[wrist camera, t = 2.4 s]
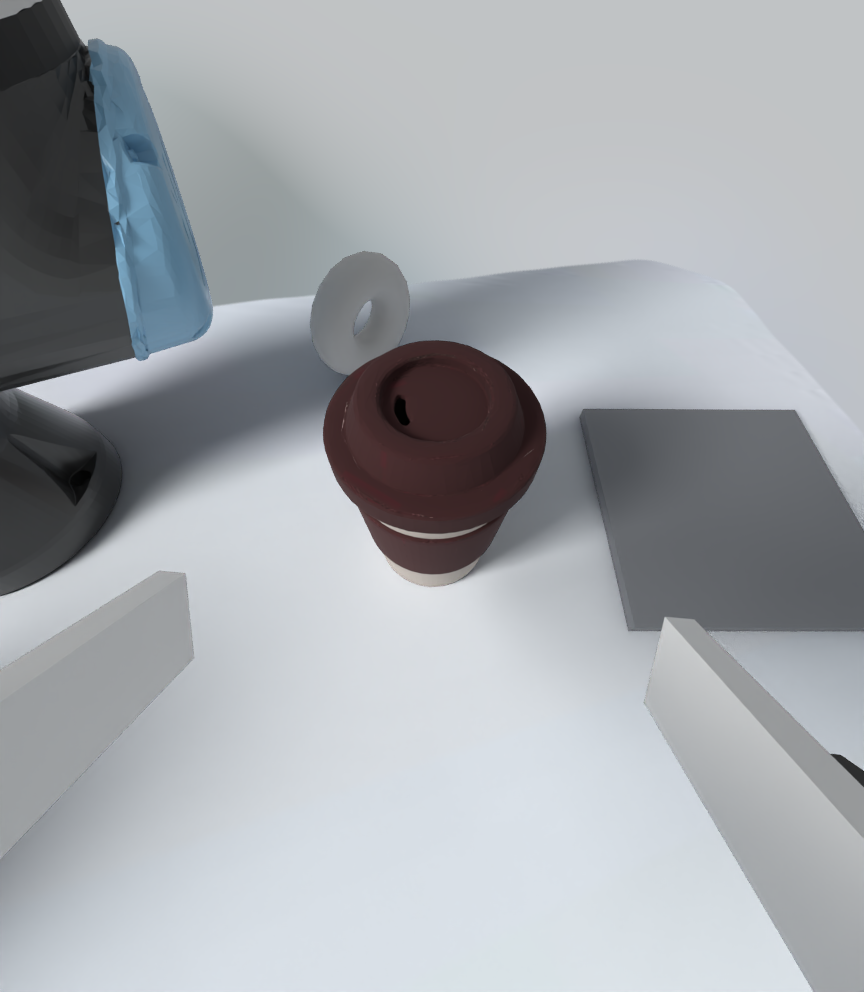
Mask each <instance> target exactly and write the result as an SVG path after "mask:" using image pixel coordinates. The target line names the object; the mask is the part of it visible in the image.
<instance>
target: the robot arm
mask: <svg viewBox="0 0 864 992" xmlns="http://www.w3.org/2000/svg"><path fill="white" fill-rule="evenodd" d="M212 316H213V307H212V301H211V296H210V292H209V288H208V284H207V280H206V276H205V273H204V269H203V266H202V262H201V259H200V255H199V252H198V248H197V245H196V242H195V238H194V235H193V232H192V229H191V225H190V222H189V219H188V216H187V213H186V210H185V207H184V203H183V200H182V197H181V194H180V191H179V188H178V185H177V181H176V178H175V175H174V172H173V169H172V166H171V163H170V160H169V157H168V154H167V151H166V148H165V145H164V142H163V140H162V137H161V134H160V131H159V128H158V125H157V122H156V120H155V117H154V114H153V112H152V109H151V106H150V104H149V102H148V100H147V97H146V95H145V92H144V90H143V87H142V84H141V81H140V76H139V74H138V72H137V69H136V68H135V66H134V63H133V62H132V60H131V58H130V57H129V56H128V54H127V53H126V52H125V51H124V50H122V49H120V48H119V47H116V46H112V45H106V44H105V43H104V42H103V41H102V40H100V39H92V40H89V41H88V46H85V45H84V43H83V42H82V41H81V39H80V38H79V37H78V35H77V33H76V31H75V29H74V27H73V25H72V23H71V21H70V19H69V17H68V15H67V13H66V11H65V9H64V7H63V5H62V3H61V1H60V0H0V595H3V594H6V593H9V592H12V591H15V590H17V589H20V588H22V587H24V586H26V585H29V584H30V583H32V582H34V581H36V580H38V579H40V578H42V577H44V576H45V575H47V574H49V573H50V572H52V571H53V570H55V569H56V568H58V567H59V566H61V565H62V564H63V563H65V562H66V561H67V560H69V559H70V558H71V557H72V556H73V555H75V554H76V553H77V552H78V551H79V550H80V549H81V548H82V547H83V546H84V545H85V544H86V543H87V542H88V541H89V540H90V539H91V538H92V537H93V536H94V535H95V533H96V532H97V531H98V530H99V528H100V527H101V526H102V524H103V523H104V522H105V520H106V519H107V517H108V515H109V514H110V512H111V510H112V508H113V506H114V504H115V501H116V499H117V496H118V493H119V490H120V486H121V478H122V468H121V462H120V458H119V456H118V453H117V451H116V449H115V448H114V446H113V445H112V444H111V443H110V442H109V441H108V440H107V439H106V438H105V437H104V436H103V435H102V434H101V433H100V432H98V431H97V430H96V429H95V428H94V427H93V426H92V425H91V424H89V423H88V422H87V421H85V420H84V419H82V418H81V417H79V416H77V415H75V414H73V413H71V412H69V411H66V410H64V409H62V408H60V407H57V406H55V405H53V404H50V403H48V402H46V401H44V400H41V399H39V398H37V397H35V396H32V395H30V394H28V393H26V392H23V391H21V390H19V389H17V387H21V386H25V385H29V384H33V383H37V382H40V381H44V380H48V379H52V378H56V377H60V376H64V375H68V374H72V373H76V372H80V371H84V370H88V369H92V368H96V367H99V366H103V365H107V364H111V363H115V362H119V361H123V360H127V359H131V358H135V357H136V359H137V360H139V361H142V360H145V359H148V357H149V355H150V354H151V353H155V352H158V351H161V350H165V349H168V348H171V347H175V346H178V345H181V344H184V343H188V342H191V341H194V340H196V339H198V338H200V337H201V336H203V335H204V334H205V333H206V332H207V330H208V329H209V327H210V325H211V322H212ZM193 659H194V653H193V643H192V633H191V623H190V613H189V603H188V593H187V583H186V573H177V572H166V571H158V572H156V573H155V574H153V575H152V576H150V577H148V578H147V579H145V580H144V581H142V582H140V583H139V584H137V585H136V586H134V587H132V588H131V589H129V590H128V591H126V592H124V593H123V594H121V595H120V596H118V597H116V598H115V599H113V600H112V601H110V602H108V603H107V604H105V605H104V606H102V607H100V608H99V609H97V610H96V611H94V612H92V613H91V614H89V615H88V616H86V617H84V618H83V619H81V620H80V621H78V622H76V623H75V624H73V625H72V626H70V627H68V628H67V629H65V630H64V631H62V632H60V633H59V634H57V635H55V636H54V637H52V638H51V639H49V640H47V641H46V642H44V643H43V644H41V645H39V646H38V647H36V648H35V649H33V650H31V651H30V652H28V653H27V654H25V655H23V656H22V657H20V658H19V659H17V660H15V661H14V662H12V663H11V664H9V665H7V666H6V667H4V668H3V669H1V670H0V859H1V858H2V857H3V856H4V855H5V854H6V853H7V852H8V851H9V850H10V849H11V848H12V847H13V846H14V845H15V844H16V843H17V842H18V841H19V840H20V839H21V837H22V836H23V835H24V834H25V833H26V832H27V831H28V830H29V829H30V828H31V827H32V826H33V825H34V824H35V823H36V822H37V821H38V820H39V819H40V818H41V817H42V816H43V815H44V814H45V813H46V811H47V810H48V809H49V808H50V807H51V806H52V805H53V804H54V803H55V802H56V801H57V800H58V799H59V798H60V797H61V796H62V795H63V794H64V793H65V792H66V791H67V790H68V789H69V788H70V787H71V785H72V784H73V783H74V782H75V781H76V780H77V779H78V778H79V777H80V776H81V775H82V774H83V773H84V772H85V771H86V770H87V769H88V768H89V767H90V766H91V765H92V764H93V763H94V762H95V761H96V759H97V758H98V757H99V756H100V755H101V754H102V753H103V752H104V751H105V750H106V749H107V748H108V747H109V746H110V745H111V744H112V743H113V742H114V741H115V740H116V739H117V738H118V737H119V736H120V735H121V734H122V732H123V731H124V730H125V729H126V728H127V727H128V726H129V725H130V724H131V723H132V722H133V721H134V720H135V719H136V718H137V717H138V716H139V715H140V714H141V713H142V712H143V711H144V710H145V709H146V708H147V706H148V705H149V704H150V703H151V702H152V701H153V700H154V699H155V698H156V697H157V696H158V695H159V694H160V693H161V692H162V691H163V690H164V689H165V688H166V687H167V686H168V685H169V684H170V683H171V682H172V680H173V679H174V678H175V677H176V676H177V675H178V674H179V673H180V672H181V671H182V670H183V669H184V668H185V667H186V666H187V665H188V664H189V663H190V662H191V661H192V660H193ZM644 704H645V706H646V707H647V709H648V711H649V712H650V714H651V716H652V717H653V719H654V721H655V723H656V724H657V726H658V728H659V729H660V731H661V733H662V735H663V736H664V738H665V740H666V741H667V743H668V745H669V746H670V748H671V750H672V752H673V753H674V755H675V757H676V758H677V760H678V762H679V763H680V765H681V767H682V769H683V770H684V772H685V774H686V775H687V777H688V779H689V781H690V782H691V784H692V786H693V787H694V789H695V791H696V792H697V794H698V796H699V798H700V799H701V801H702V803H703V804H704V806H705V808H706V810H707V811H708V813H709V815H710V816H711V818H712V820H713V821H714V823H715V825H716V827H717V828H718V830H719V832H720V833H721V835H722V837H723V838H724V840H725V842H726V844H727V845H728V847H729V849H730V850H731V852H732V854H733V856H734V857H735V859H736V861H737V862H738V864H739V866H740V867H741V869H742V871H743V873H744V874H745V876H746V878H747V879H748V881H749V883H750V884H751V886H752V888H753V890H754V891H755V893H756V895H757V896H758V898H759V900H760V902H761V903H762V905H763V907H764V908H765V910H766V912H767V913H768V915H769V917H770V919H771V920H772V922H773V924H774V925H775V927H776V929H777V931H778V932H779V934H780V936H781V937H782V939H783V941H784V942H785V944H786V946H787V948H788V949H789V951H790V953H791V954H792V956H793V958H794V959H795V961H796V963H797V965H798V966H799V968H800V970H801V971H802V973H803V975H804V977H805V978H806V980H807V982H808V983H809V985H810V987H811V988H812V990H813V992H864V771H863V770H862V769H860V768H859V767H857V766H856V765H854V764H853V763H852V762H850V761H849V760H847V759H846V758H844V757H843V756H841V755H837V754H830V753H829V752H828V751H827V750H826V749H825V748H823V747H822V746H821V745H820V744H819V743H818V742H817V741H816V740H815V739H814V738H813V737H812V736H811V735H810V734H809V733H808V732H807V731H806V730H805V729H804V728H803V727H802V726H801V725H800V724H799V723H798V722H797V721H796V720H795V719H794V718H793V717H792V716H791V715H790V714H789V713H788V712H787V711H786V710H785V709H784V708H783V707H782V706H781V705H780V704H779V703H778V702H777V701H776V700H775V699H774V698H773V697H772V696H771V695H770V694H769V693H768V692H767V691H766V690H765V689H764V688H763V687H762V686H761V685H760V684H759V683H758V682H757V681H756V680H755V679H754V678H753V677H752V676H751V675H750V674H749V673H748V672H747V671H746V670H745V669H744V668H743V667H742V666H741V665H740V664H739V663H738V662H737V661H736V660H735V659H734V658H733V657H732V656H731V655H730V654H729V653H728V652H727V651H726V650H725V649H724V648H723V647H722V646H721V645H720V644H719V643H718V642H717V641H715V640H714V639H713V638H712V637H711V636H710V635H709V634H708V633H707V632H706V631H705V630H704V629H703V628H702V627H701V626H700V625H699V624H698V623H697V622H696V621H695V620H694V619H685V618H674V617H665V618H664V622H663V626H662V630H661V634H660V638H659V642H658V646H657V651H656V655H655V659H654V663H653V667H652V671H651V675H650V679H649V683H648V687H647V691H646V695H645V699H644Z"/></svg>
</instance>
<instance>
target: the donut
mask: <svg viewBox="0 0 864 992" xmlns="http://www.w3.org/2000/svg"><path fill="white" fill-rule="evenodd" d="M370 300H371V302H372V308H371V313H370V317H369V319H368V321H367V324H366V325H365V326H364V328H363V329H362V330H361V331H360V332H359V333H358V334H356V335H354V324H355V320H356V318H357V316H358V313H359V311H360V310H361V309H362V307H363V306H364V304H366V303H367V302H368V301H370ZM409 306H410V296H409V291H408V286H407V282H406V280H405V278H404V276H403V274H402V272H401V271H400V269H399V267H398V265H396V264H395V263H394V262H393V261H391V260H390V259H388V258H387V257H386V256H384V255H383V254H380V253H374V252H365V251H363V252H359V253H356V254H353V255H350V256H348V257H345V258H343V259H342V260H341V261H340V262H339V263H337V264H336V265H335V266H334V267H333V268H332V269H331V270H330V271H329V273H328V274H327V275H326V277H325V278H324V280H323V281H322V283H321V284H320V286H319V289H318V291H317V294H316V296H315V299H314V302H313V305H312V312H311V320H310V328H311V335H312V342H313V344H314V347H315V349H316V351H317V353H318V355H319V357H320V359H321V360H322V361H323V362H324V363H325V364H326V365H327V366H329V367H330V368H331V369H332V370H334V371H335V372H337V373H340V374H344V375H350V374H352V373H353V372H354V371H355V370H356V369H358V368H359V367H361V366H362V365H364V364H365V363H367V362H368V361H370V360H372V359H374V358H376V357H378V356H380V355H383V354H384V353H386V352H388V351H390V350H392V349H394V348H396V347H397V346H398V344H399V343H400V340H401V338H402V336H403V334H404V332H405V329H406V325H407V321H408V317H409Z"/></svg>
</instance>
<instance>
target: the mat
mask: <svg viewBox="0 0 864 992" xmlns="http://www.w3.org/2000/svg"><path fill="white" fill-rule="evenodd" d="M580 421H581V425H582V430H583V434H584V438H585V443H586V447H587V451H588V456H589V460H590V464H591V469H592V473H593V477H594V482H595V486H596V491H597V495H598V499H599V504H600V508H601V512H602V517H603V521H604V525H605V530H606V534H607V538H608V543H609V547H610V552H611V556H612V560H613V565H614V569H615V573H616V578H617V582H618V586H619V591H620V595H621V599H622V604H623V608H624V613H625V617H626V621H627V626H628V630H629V631H661V630H662V626H663V622H664V618H665V617H674V618H685V619H694V620H695V621H696V622H697V623H698V624H699V625H700V626H701V627H702V628H703V629H704V630H705V631H864V531H863V529H862V527H861V525H860V524H859V522H858V520H857V518H856V517H855V515H854V513H853V511H852V510H851V508H850V506H849V504H848V503H847V501H846V499H845V497H844V496H843V494H842V492H841V490H840V488H839V487H838V485H837V483H836V481H835V480H834V478H833V476H832V474H831V473H830V471H829V469H828V467H827V466H826V464H825V462H824V460H823V459H822V457H821V455H820V453H819V452H818V450H817V448H816V446H815V445H814V443H813V441H812V439H811V438H810V436H809V434H808V432H807V430H806V429H805V427H804V425H803V423H802V422H801V420H800V418H799V416H798V415H797V413H796V411H795V410H676V409H583V411H582V413H581V415H580Z"/></svg>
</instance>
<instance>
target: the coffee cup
mask: <svg viewBox="0 0 864 992" xmlns="http://www.w3.org/2000/svg"><path fill="white" fill-rule="evenodd" d="M323 440H324V446H325V451H326V454H327V457H328V460H329V463H330V465H331V468H332V471H333V473H334V476H335V478H336V480H337V482H338V484H339V485H340V487H341V488H342V490H343V491H344V492H345V494H346V495H347V496H348V497H349V499H350V500H351V501H352V502H353V503H354V504H356V505H357V506H358V508H359V510H360V512H361V514H362V516H363V518H364V520H365V523H366V525H367V527H368V529H369V531H370V533H371V535H372V537H373V539H374V541H375V543H376V544H377V546H378V547H379V549H380V550H381V551H382V552H383V554H384V555H385V557H386V559H387V561H388V563H389V565H390V566H391V567H392V568H393V570H394V571H395V572H396V573H397V574H399V575H400V576H401V577H403V578H404V579H406V580H408V581H409V582H412V583H415V584H418V585H421V586H427V587H437V586H445V585H448V584H451V583H454V582H456V581H458V580H460V579H461V578H463V577H464V576H466V575H467V574H468V573H469V572H470V571H471V570H472V569H473V568H474V566H475V565H476V564H477V562H478V560H479V558H480V556H481V555H482V554H483V553H484V552H485V551H486V550H487V548H488V547H489V545H490V544H491V542H492V540H493V538H494V536H495V535H496V533H497V531H498V529H499V527H500V525H501V523H502V521H503V519H504V517H505V516H506V514H507V512H508V510H509V509H510V508H511V507H512V506H513V505H514V504H515V503H516V502H517V501H518V500H520V499H521V498H522V496H523V495H524V494H525V492H526V491H527V489H528V488H529V486H530V484H531V483H532V481H533V479H534V477H535V474H536V472H537V470H538V467H539V465H540V463H541V460H542V457H543V454H544V450H545V445H546V424H545V419H544V414H543V411H542V409H541V406H540V403H539V401H538V399H537V398H536V396H535V395H534V393H533V391H532V390H531V388H530V387H529V386H528V385H527V384H526V382H525V381H524V380H523V379H522V378H521V377H520V376H519V375H518V374H517V373H516V372H514V371H513V370H512V369H510V368H509V367H507V366H506V365H504V364H503V363H501V362H500V361H498V360H496V359H494V358H492V357H490V356H488V355H486V354H484V353H483V352H481V351H479V350H477V349H474V348H472V347H470V346H467V345H463V344H459V343H455V342H449V341H438V340H436V341H419V342H414V343H409V344H406V345H403V346H400V347H397V348H394V349H392V350H390V351H388V352H386V353H384V354H383V355H380V356H378V357H376V358H374V359H372V360H370V361H368V362H367V363H365V364H364V365H362V366H361V367H359V368H358V369H356V370H355V371H354V372H353V373H352V374H350V375H349V376H348V377H347V378H346V380H345V381H344V382H343V383H342V384H341V385H340V387H339V388H338V389H337V391H336V392H335V394H334V395H333V397H332V399H331V401H330V403H329V405H328V408H327V411H326V415H325V420H324V427H323Z"/></svg>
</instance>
